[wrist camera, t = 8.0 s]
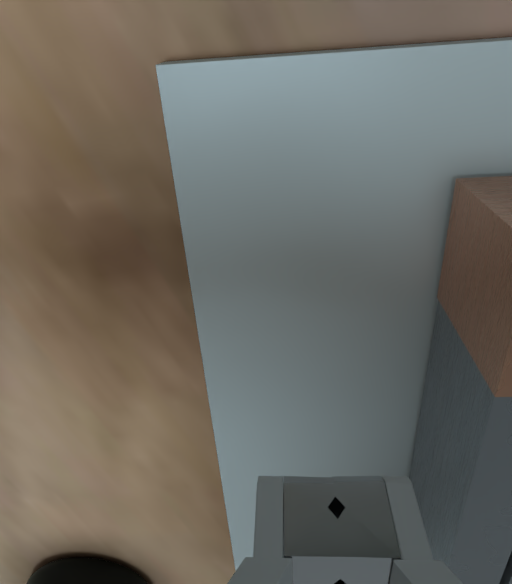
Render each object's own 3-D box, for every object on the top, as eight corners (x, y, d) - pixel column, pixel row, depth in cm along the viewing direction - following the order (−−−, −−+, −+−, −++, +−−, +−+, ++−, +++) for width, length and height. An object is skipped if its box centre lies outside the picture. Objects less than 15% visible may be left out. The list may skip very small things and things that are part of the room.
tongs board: (941, 6, 11) (1484, -3, 6) (619, 555, 22) (714, 704, 17) (163, 61, 12) (89, 91, 7) (238, 556, 23) (228, 697, 18)
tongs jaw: (525, 175, 12) (636, 244, 8) (438, 539, 19) (475, 655, 16) (455, 178, 12) (535, 248, 8) (397, 539, 19) (425, 654, 16)
